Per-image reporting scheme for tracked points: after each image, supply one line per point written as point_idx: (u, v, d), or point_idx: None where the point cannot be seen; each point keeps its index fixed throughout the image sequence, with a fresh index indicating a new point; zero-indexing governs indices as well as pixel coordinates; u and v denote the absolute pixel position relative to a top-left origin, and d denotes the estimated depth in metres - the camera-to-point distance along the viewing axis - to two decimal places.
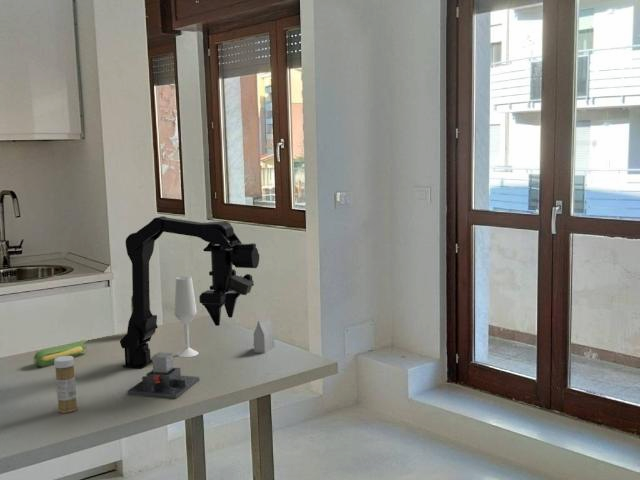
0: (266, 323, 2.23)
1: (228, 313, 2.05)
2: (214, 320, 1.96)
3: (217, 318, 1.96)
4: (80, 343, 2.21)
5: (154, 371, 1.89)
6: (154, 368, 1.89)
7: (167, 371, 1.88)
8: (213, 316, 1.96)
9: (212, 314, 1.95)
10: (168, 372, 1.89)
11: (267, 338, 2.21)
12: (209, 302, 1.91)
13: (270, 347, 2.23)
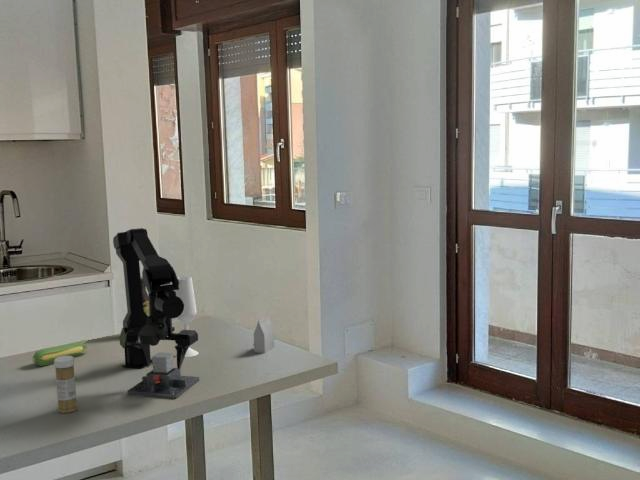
0: (266, 323, 2.23)
1: None
2: None
3: None
4: (80, 343, 2.22)
5: (154, 371, 1.89)
6: (154, 368, 1.89)
7: (167, 371, 1.88)
8: None
9: None
10: (168, 372, 1.89)
11: (267, 338, 2.21)
12: None
13: (270, 347, 2.23)
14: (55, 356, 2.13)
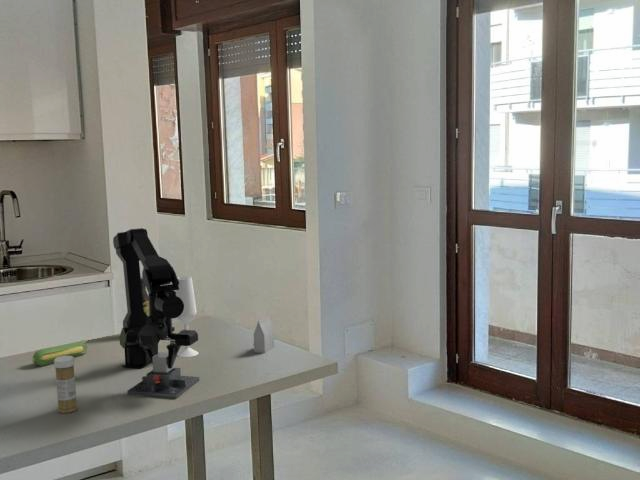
0: (266, 323, 2.23)
1: None
2: None
3: None
4: (81, 343, 2.22)
5: (154, 371, 1.89)
6: (154, 368, 1.89)
7: (167, 371, 1.88)
8: None
9: None
10: (168, 372, 1.89)
11: (267, 338, 2.21)
12: None
13: (270, 347, 2.23)
14: (55, 356, 2.13)
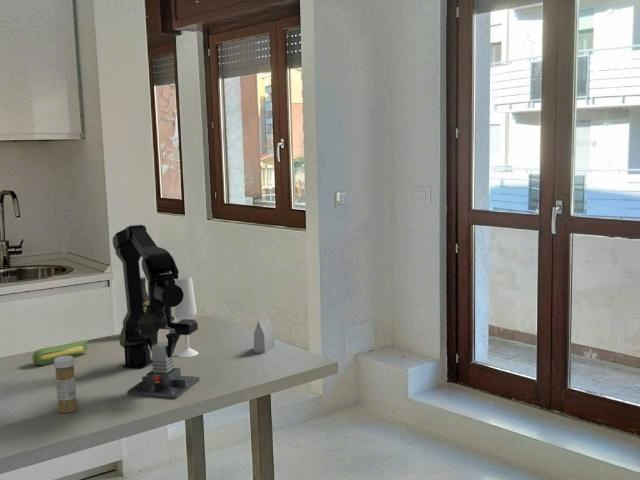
0: (266, 323, 2.23)
1: None
2: None
3: None
4: (81, 343, 2.22)
5: (153, 360, 1.88)
6: (153, 357, 1.88)
7: (166, 360, 1.88)
8: None
9: None
10: (167, 361, 1.88)
11: (267, 338, 2.21)
12: None
13: (270, 347, 2.23)
14: (54, 356, 2.14)
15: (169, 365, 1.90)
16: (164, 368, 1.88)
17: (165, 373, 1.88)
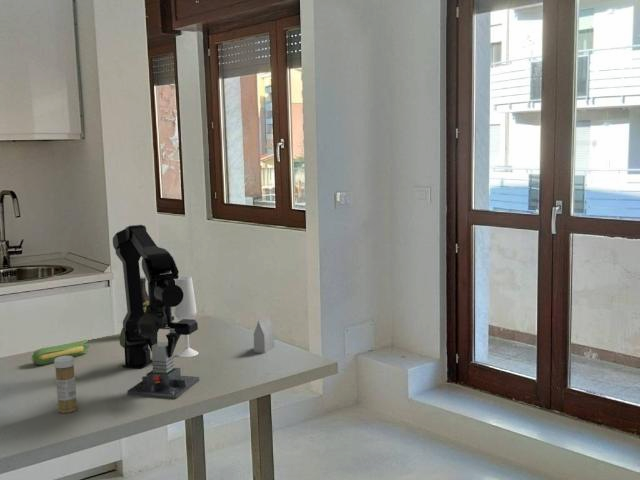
0: (266, 323, 2.23)
1: None
2: None
3: None
4: (81, 343, 2.22)
5: (153, 360, 1.88)
6: (153, 357, 1.88)
7: (166, 360, 1.88)
8: None
9: None
10: (167, 361, 1.88)
11: (267, 338, 2.21)
12: None
13: (270, 347, 2.23)
14: (54, 355, 2.14)
15: (169, 364, 1.89)
16: (164, 368, 1.88)
17: (165, 373, 1.88)
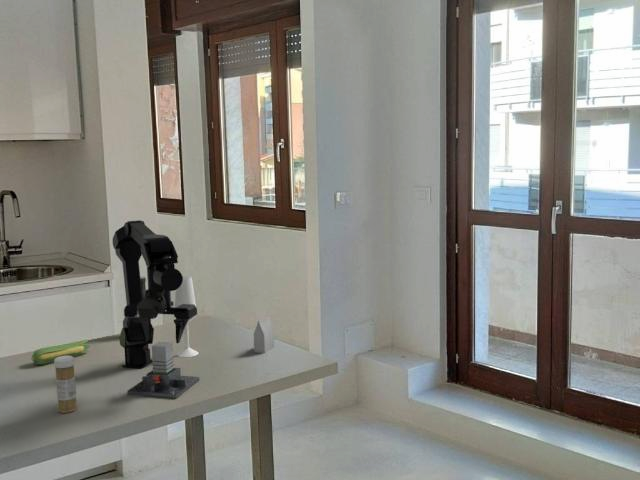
0: (266, 323, 2.23)
1: None
2: None
3: None
4: (82, 342, 2.22)
5: (153, 360, 1.88)
6: (153, 357, 1.88)
7: (166, 360, 1.88)
8: None
9: None
10: (167, 361, 1.88)
11: (267, 338, 2.21)
12: None
13: (270, 347, 2.23)
14: (54, 355, 2.14)
15: (169, 364, 1.89)
16: (164, 368, 1.88)
17: (165, 373, 1.88)
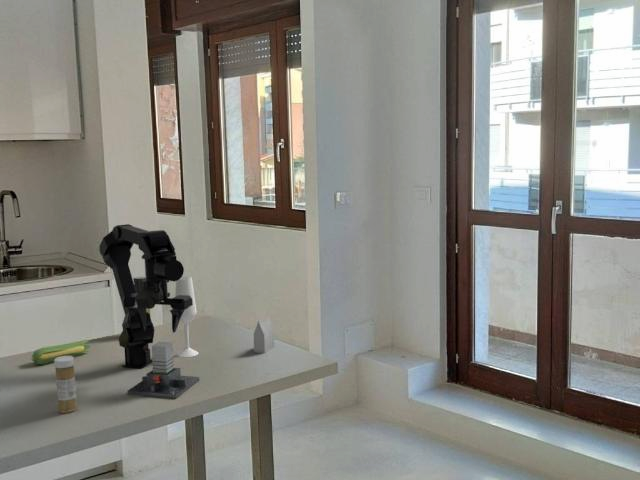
0: (266, 323, 2.23)
1: None
2: None
3: None
4: (82, 342, 2.22)
5: (153, 360, 1.88)
6: (153, 357, 1.88)
7: (166, 360, 1.88)
8: None
9: None
10: (167, 361, 1.88)
11: (267, 338, 2.21)
12: None
13: (270, 347, 2.23)
14: (54, 355, 2.14)
15: (169, 364, 1.89)
16: (164, 368, 1.88)
17: (165, 373, 1.88)
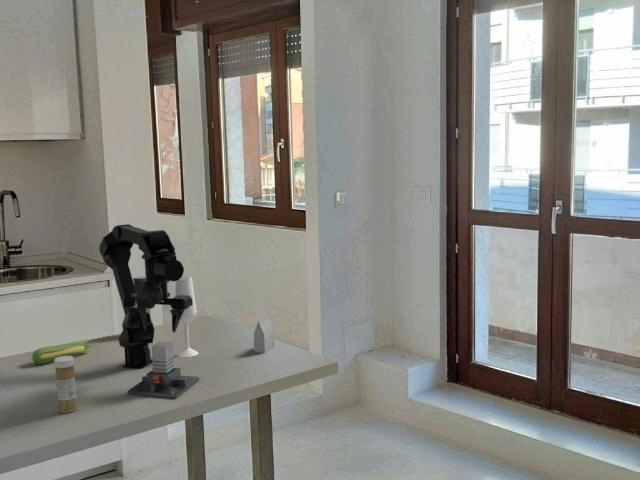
0: (266, 323, 2.23)
1: None
2: None
3: None
4: (82, 342, 2.22)
5: (153, 360, 1.88)
6: (153, 357, 1.88)
7: (166, 360, 1.88)
8: None
9: None
10: (167, 361, 1.88)
11: (267, 338, 2.21)
12: None
13: (270, 347, 2.23)
14: (54, 355, 2.14)
15: (169, 364, 1.89)
16: (164, 368, 1.88)
17: (165, 373, 1.88)
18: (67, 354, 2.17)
